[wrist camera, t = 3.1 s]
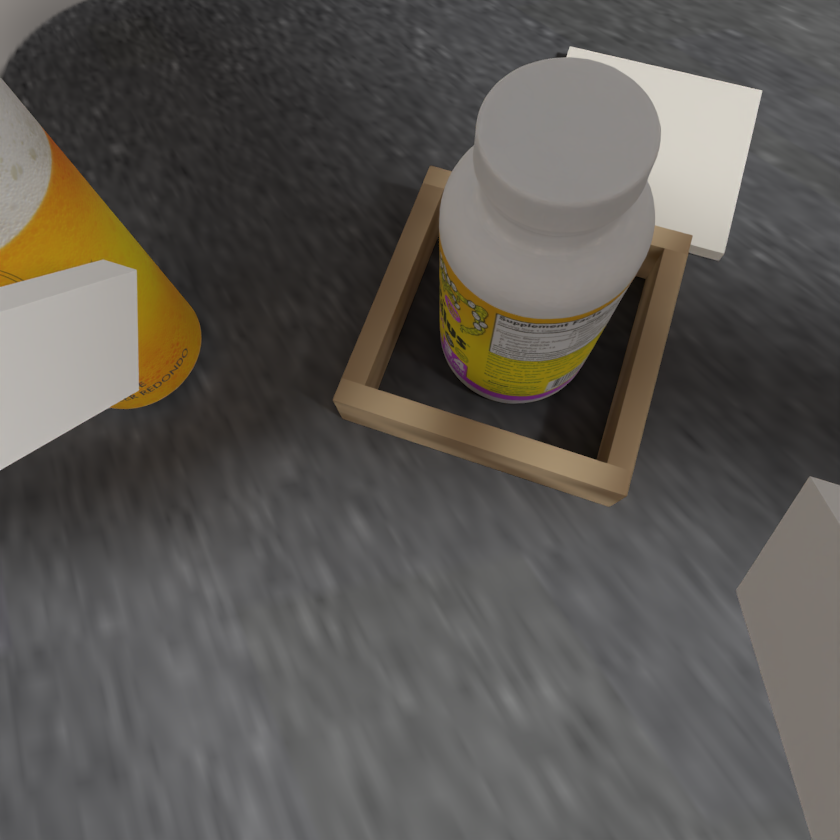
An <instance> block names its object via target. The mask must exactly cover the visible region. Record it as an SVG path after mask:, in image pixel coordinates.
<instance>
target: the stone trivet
mask: <svg viewBox="0 0 840 840" xmlns="http://www.w3.org/2000/svg"><path fill="white" fill-rule="evenodd" d="M566 57H575V58H583V59H590V60H593V61H597V62H601V63H603V64H606V65H609V66H612V67H614V68H616V69H617V70H619V71H621V72H622V73H624V74H626V75H627V76H629V77H630V78H631V79H633V80H634V81H635V82H636V83H637V84H638V85H639V86H640V87H641V88H642V89H643V90H644V91H645V92H646V93H647V95H648V96H649V98H650V99H651V101H652V103H653V105H654V107H655V109H656V111H657V114H658V117H659V122H660V126H661V141H660V148H659V152H658V155H657V158H656V160H655V163H654V165H653V168H652V170H651V172H650V175H649V177H648V183H649V185H650V187H651V191H652V195H653V199H654V207H655V225H656V226H659V227H663V228H667V229H671V230H675V231H678V232H682V233H686V234H690V235H693V237H692V241H691V245H690V249H689V253H691V254H695V255H699V256H702V257H706V258H710V259H714V260H717V261H719V260H720V258H721V257H722V256H723V255H724V253H725V248H726V244H727V240H728V236H729V231H730V227H731V223H732V218H733V214H734V210H735V206H736V201H737V197H738V193H739V188H740V184H741V180H742V176H743V171H744V167H745V163H746V158H747V154H748V150H749V145H750V141H751V137H752V133H753V128H754V124H755V120H756V115H757V111H758V107H759V103H760V98H761V94H762V90H757V89H753V88H748V87H744V86H740V85H735V84H731V83H727V82H722V81H718V80H714V79H709V78H705V77H701V76H696V75H692V74H688V73H683V72H679V71H675V70H670V69H666V68H662V67H657V66H653V65H649V64H644V63H640V62H636V61H631V60H627V59H623V58H618V57H614V56H610V55H605V54H601V53H597V52H592V51H588V50H584V49H579V48H575V47H571V46H570V48H569V51H568V54H567V56H566Z"/></svg>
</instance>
